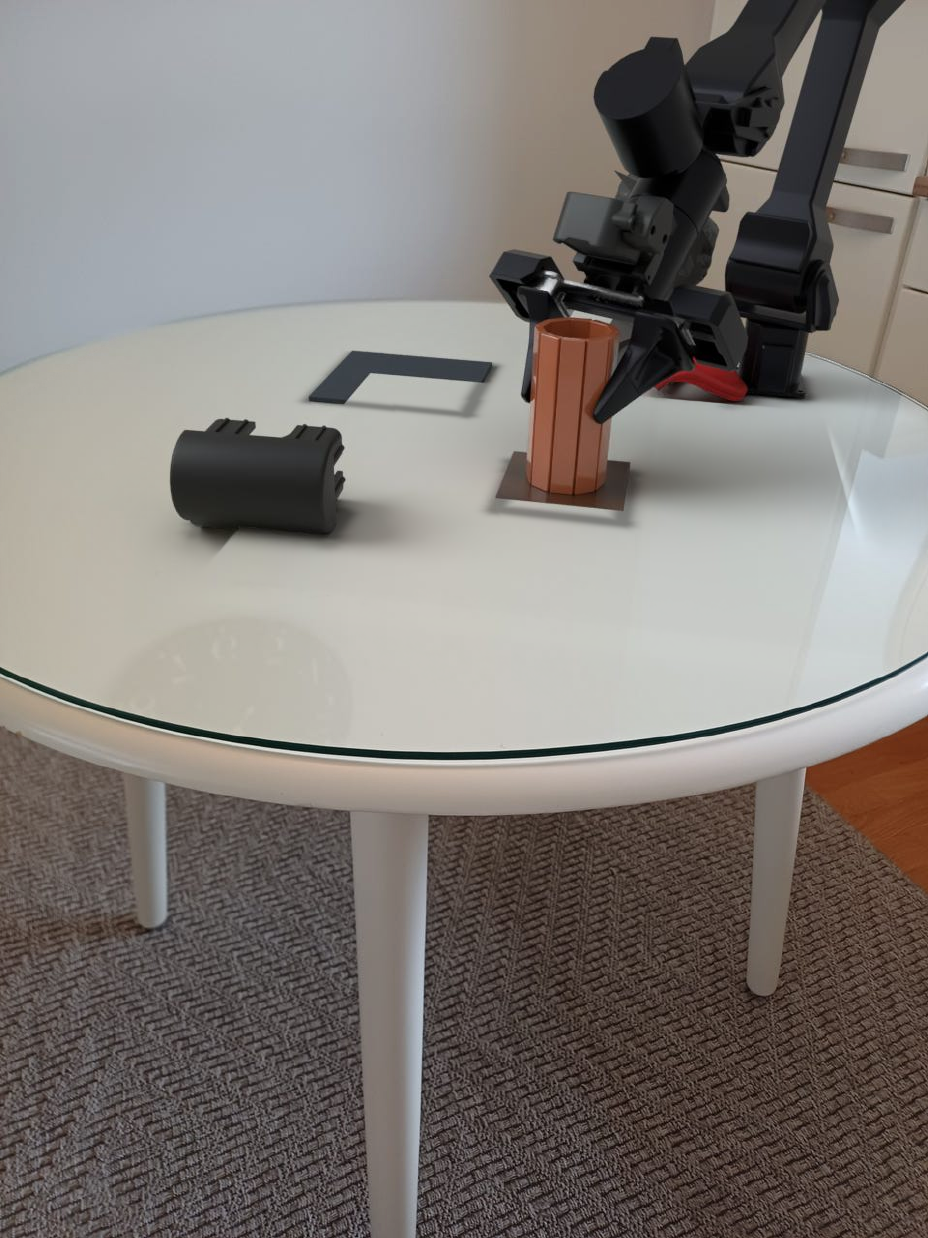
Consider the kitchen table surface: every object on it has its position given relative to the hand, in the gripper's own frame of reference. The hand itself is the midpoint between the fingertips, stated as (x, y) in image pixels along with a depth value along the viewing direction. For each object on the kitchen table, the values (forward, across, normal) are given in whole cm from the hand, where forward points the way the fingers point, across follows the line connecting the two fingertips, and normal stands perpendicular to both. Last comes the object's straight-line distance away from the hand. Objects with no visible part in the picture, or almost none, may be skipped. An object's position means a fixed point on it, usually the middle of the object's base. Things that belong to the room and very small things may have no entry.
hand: (559, 410), depth 75 cm
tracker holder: (-16, -5, +25) cm, 31 cm away
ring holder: (+4, 0, +6) cm, 7 cm away
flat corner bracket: (-4, -25, +13) cm, 28 cm away
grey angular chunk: (-20, -15, +30) cm, 39 cm away
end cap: (+17, -11, -8) cm, 22 cm away
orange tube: (+3, 0, +5) cm, 6 cm away
